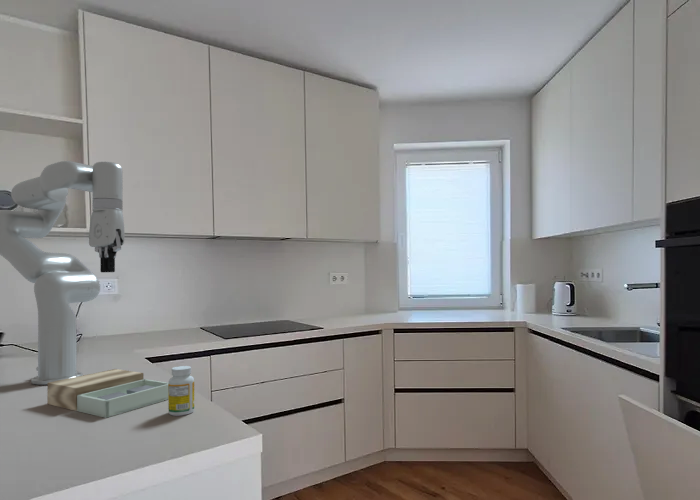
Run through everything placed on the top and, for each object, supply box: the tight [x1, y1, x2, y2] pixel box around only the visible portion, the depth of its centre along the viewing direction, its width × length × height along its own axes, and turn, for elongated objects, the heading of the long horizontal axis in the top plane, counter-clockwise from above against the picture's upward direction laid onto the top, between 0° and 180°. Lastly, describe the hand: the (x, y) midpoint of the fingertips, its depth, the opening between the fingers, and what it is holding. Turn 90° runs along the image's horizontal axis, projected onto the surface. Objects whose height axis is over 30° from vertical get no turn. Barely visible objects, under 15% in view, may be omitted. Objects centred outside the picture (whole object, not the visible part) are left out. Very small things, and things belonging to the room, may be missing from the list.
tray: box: [77, 378, 168, 419], centre depth 108 cm, size 11×17×4 cm, turn 149°
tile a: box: [127, 385, 154, 394], centre depth 110 cm, size 5×5×2 cm
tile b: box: [97, 392, 128, 400], centre depth 104 cm, size 5×5×2 cm
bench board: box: [46, 368, 145, 412], centre depth 114 cm, size 12×17×5 cm
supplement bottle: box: [167, 365, 195, 417], centre depth 101 cm, size 5×5×10 cm
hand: (107, 272), depth 129 cm, fingers closed
